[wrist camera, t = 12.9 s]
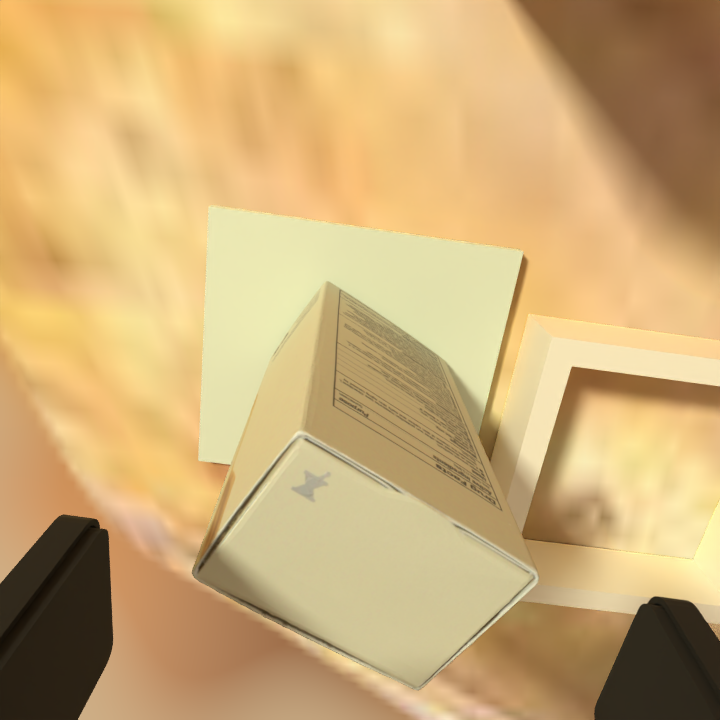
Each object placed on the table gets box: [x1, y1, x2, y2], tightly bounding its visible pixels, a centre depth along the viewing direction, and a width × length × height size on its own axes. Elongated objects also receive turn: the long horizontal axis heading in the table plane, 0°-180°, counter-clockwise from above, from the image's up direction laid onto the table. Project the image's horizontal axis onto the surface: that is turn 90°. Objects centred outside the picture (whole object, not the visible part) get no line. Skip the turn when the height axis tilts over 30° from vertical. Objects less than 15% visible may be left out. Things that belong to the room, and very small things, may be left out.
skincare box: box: [192, 281, 539, 690], centre depth 17 cm, size 6×4×12 cm
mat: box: [198, 205, 524, 465], centre depth 23 cm, size 12×11×1 cm
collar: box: [490, 314, 720, 624], centre depth 23 cm, size 12×12×3 cm
